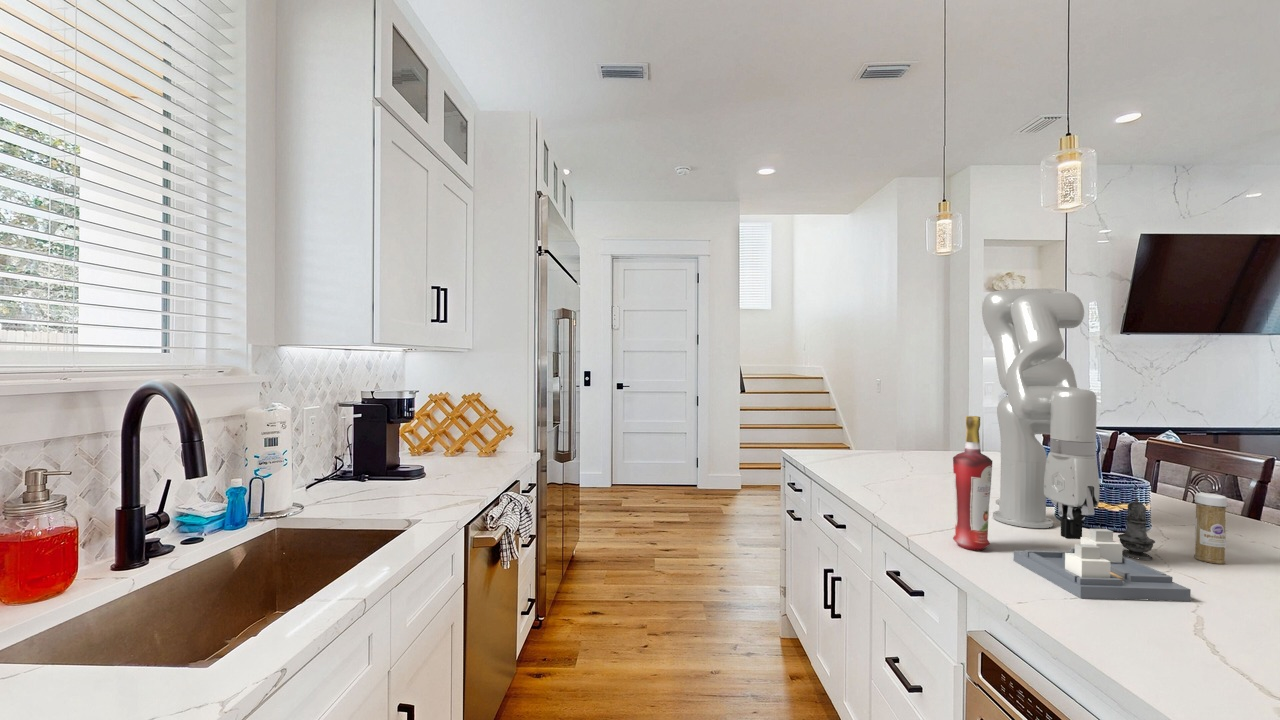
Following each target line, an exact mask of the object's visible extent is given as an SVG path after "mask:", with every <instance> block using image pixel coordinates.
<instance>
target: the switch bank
mask: <svg viewBox="0 0 1280 720" xmlns="http://www.w3.org/2000/svg"><path fill="white" fill-rule="evenodd" d="M1065 553H1075V547H1074V548H1073V547H1072V548H1070V549H1069V551H1063V550H1061V551H1059V550H1056V551H1054V550H1029V549H1028V550H1026V549H1025V550H1013V562H1015V563H1016V564H1018V565H1021V566H1023V567H1025V569H1028V570H1029V571H1031V572H1032V573H1035V574H1037V575H1038V576H1040V577H1042V578H1044V579H1045V580H1047V581H1049V582H1051V583H1052V584H1054V585H1056V586H1057V587H1060V588H1062V589H1063V590H1064V591H1067V592H1069V593H1070V594H1072V595H1074V596H1076V597H1077V598H1079V599H1088V600H1089V599H1093V600H1096V599H1097V600H1122V599H1148V600H1147V601H1158V600H1174V601H1173V602H1191V595H1192V593H1191V589H1190V588H1189V587H1186V586H1183V585H1181V584H1179V583H1177V582H1174V581H1173V576H1171V575H1168V574H1166V573H1164V572H1161V571H1159V570H1158V569H1155V568H1152V567H1150V566H1148V565H1145V564H1143V563H1141V562H1138V561H1135V559H1134V560H1133V559H1132V558H1129V557H1126V556H1123V555H1122V563H1113V562H1110V578H1094V577H1080V576H1078V575H1076V574H1074V573H1072V572H1070V571H1068V570H1066V569H1065Z"/></svg>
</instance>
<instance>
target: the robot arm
mask: <svg viewBox="0 0 1280 720" xmlns="http://www.w3.org/2000/svg"><path fill="white" fill-rule="evenodd" d="M981 315H982V321H983V322H982V323H983V325H984V328H985V329H986V330H985V331H986V332H987V334H988V335H989V338H990V340H991V342H992V345H993V349H994V357H995V364H996V369H997V376H998V380H999V381H998V382H999V384H1000V386H1001V388H1002V389H1003V391H1006V393H1007V396H1006V397H1003V398H1002V399H1000V400H999V402H998V403H997V406H996V415H997V416H996V417H997V421H998V428H999V436H1000V438H999V439H1000V487H999V488H1000V489H999V493H1000V494H999V497H1000V498H999V499H996V500H995V504H996V505H998V509H999V510H996V511H993V512H992V518H993V519H994V520H995V521H997V522H1000V523H1003V524H1008V525H1012V526H1014V527H1015V526H1016V527H1020V528H1021V527H1023V528H1030V529H1048V528H1049V527H1050V528H1052V527H1053V526H1054V520H1053V519H1052V518H1050V517H1047V516H1046V515H1047V514H1046V512H1047V511H1046V509H1047V499H1048V500H1050V502H1051V503H1052V504H1053V505H1055V506H1056V507H1057V509H1058V515H1059V517H1060V536H1061V537H1063V538H1065V539H1066V540H1081V537H1083V521H1085V520H1086V516H1095V508H1097V507H1098V506H1099V502H1100V478H1099V477H1100V476H1099V469H1098V468H1099V467H1098V462H1097V395H1096V393H1095V392H1094V391H1093V390H1090V389H1083V388H1078V384H1077V379H1076V375H1075V371H1074V369H1073V366H1072V365H1071V364H1070V362H1069V361H1068V359H1067V360H1066V359H1065V358H1063V357H1059V356H1060V355H1062V353H1063V352H1064V350H1065V344H1064V340H1063V338H1062V334H1061V331H1060V329H1074V328H1077V327H1079V326H1080V325H1081V324H1082V322H1083V321H1084V317H1085V307H1084V304H1083V302H1082V300H1081V299H1080V298H1079V296H1077V295H1076V294H1075V293H1072V292H1069V291H1066V290H1062V289H1060V288H1059V289H1058V288H1008V289H1000V290H994V291H992V292H991V291H990V292H989V293H988V294H986V295H985V296H984V298H983V301H982V306H981ZM1035 435H1050V437H1049V441H1050V442H1049V444H1050V445H1049V452H1048V455H1047V453H1046V452H1047V451H1046V449H1045V447H1044V446H1043V444H1042V443H1041V442H1040V441H1039V440H1038V439H1037V436H1035Z"/></svg>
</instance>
